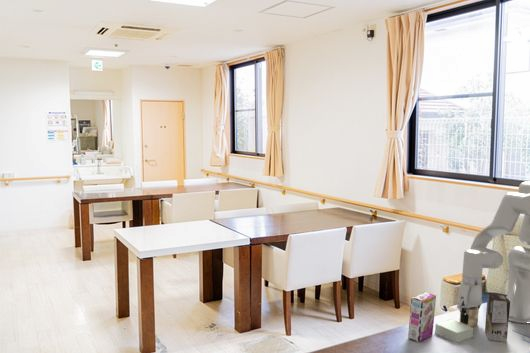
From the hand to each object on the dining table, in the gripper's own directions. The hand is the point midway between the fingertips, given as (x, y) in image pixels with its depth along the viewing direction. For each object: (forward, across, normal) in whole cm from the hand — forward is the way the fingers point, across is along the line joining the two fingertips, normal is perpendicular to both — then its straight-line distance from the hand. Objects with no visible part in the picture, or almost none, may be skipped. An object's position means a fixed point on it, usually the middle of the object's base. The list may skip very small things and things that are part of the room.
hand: (468, 321), depth 208 cm
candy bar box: (+1, +29, +1) cm, 29 cm away
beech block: (+1, 0, 0) cm, 1 cm away
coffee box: (+1, +1, +14) cm, 14 cm away
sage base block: (+1, +15, +5) cm, 16 cm away
